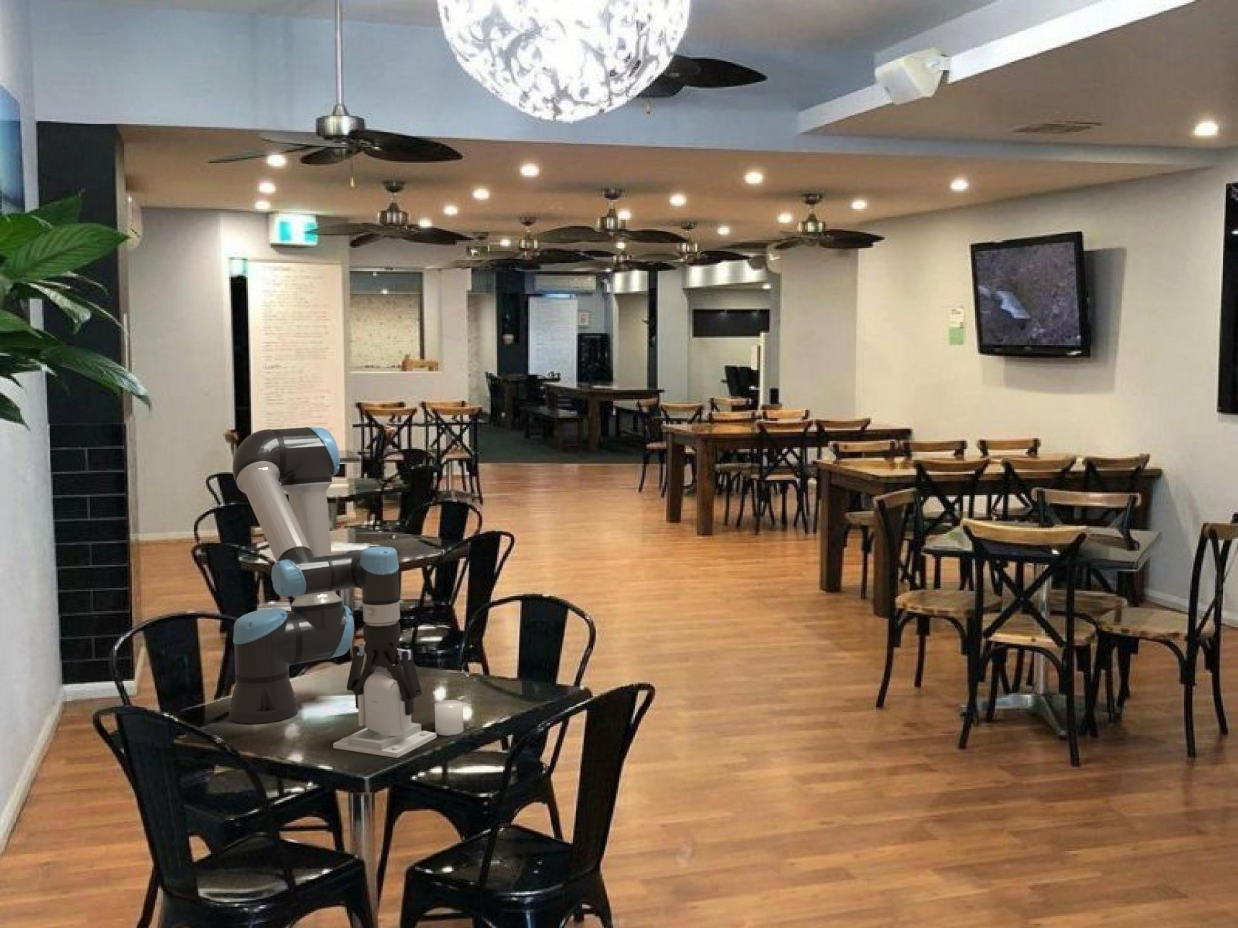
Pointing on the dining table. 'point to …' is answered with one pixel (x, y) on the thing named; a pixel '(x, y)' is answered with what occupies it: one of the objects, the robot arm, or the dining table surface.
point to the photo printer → (382, 704)
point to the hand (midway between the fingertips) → (385, 726)
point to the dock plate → (385, 741)
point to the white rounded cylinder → (449, 717)
